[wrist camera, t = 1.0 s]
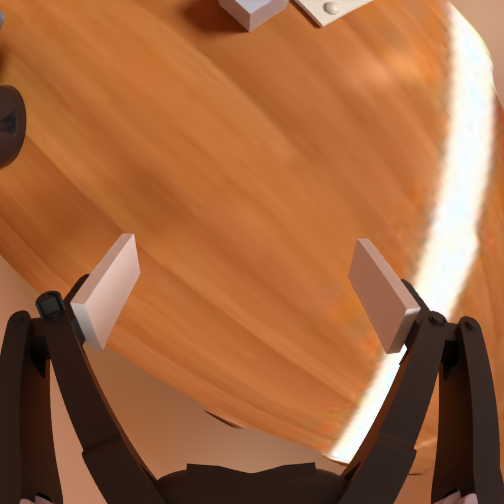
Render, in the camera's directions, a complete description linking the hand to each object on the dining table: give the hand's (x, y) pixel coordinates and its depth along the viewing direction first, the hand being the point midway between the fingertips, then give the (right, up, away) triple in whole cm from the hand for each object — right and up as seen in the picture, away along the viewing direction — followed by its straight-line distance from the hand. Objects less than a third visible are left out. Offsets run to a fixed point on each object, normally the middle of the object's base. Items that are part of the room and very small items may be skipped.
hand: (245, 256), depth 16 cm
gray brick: (0, +32, +10) cm, 33 cm away
